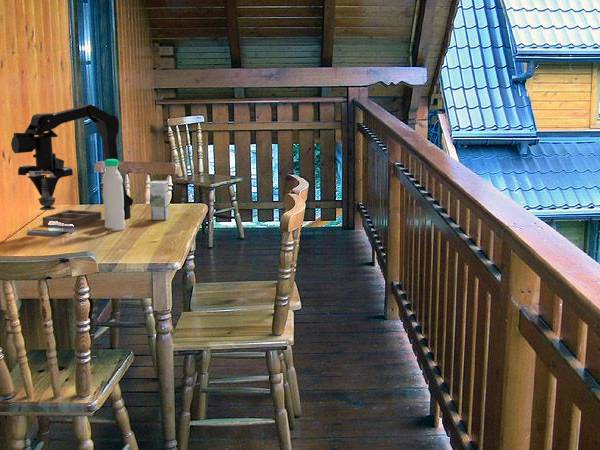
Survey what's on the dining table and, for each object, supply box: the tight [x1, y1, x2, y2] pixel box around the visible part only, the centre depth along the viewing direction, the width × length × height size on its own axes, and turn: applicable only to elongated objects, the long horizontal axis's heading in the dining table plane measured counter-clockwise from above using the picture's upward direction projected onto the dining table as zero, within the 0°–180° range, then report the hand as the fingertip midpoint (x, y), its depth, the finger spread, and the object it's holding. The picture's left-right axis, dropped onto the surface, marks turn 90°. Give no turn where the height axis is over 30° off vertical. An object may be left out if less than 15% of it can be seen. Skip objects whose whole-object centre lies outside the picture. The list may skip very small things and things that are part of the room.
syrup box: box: [149, 180, 170, 221], centre depth 312 cm, size 6×6×14 cm
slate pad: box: [26, 229, 68, 237], centre depth 290 cm, size 12×8×1 cm
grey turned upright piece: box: [38, 174, 57, 211], centre depth 288 cm, size 6×6×12 cm
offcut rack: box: [41, 209, 102, 228], centre depth 303 cm, size 14×16×4 cm
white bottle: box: [101, 159, 126, 232], centre depth 293 cm, size 7×7×25 cm
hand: (46, 196), depth 288 cm, fingers closed on grey turned upright piece, 3 cm apart
